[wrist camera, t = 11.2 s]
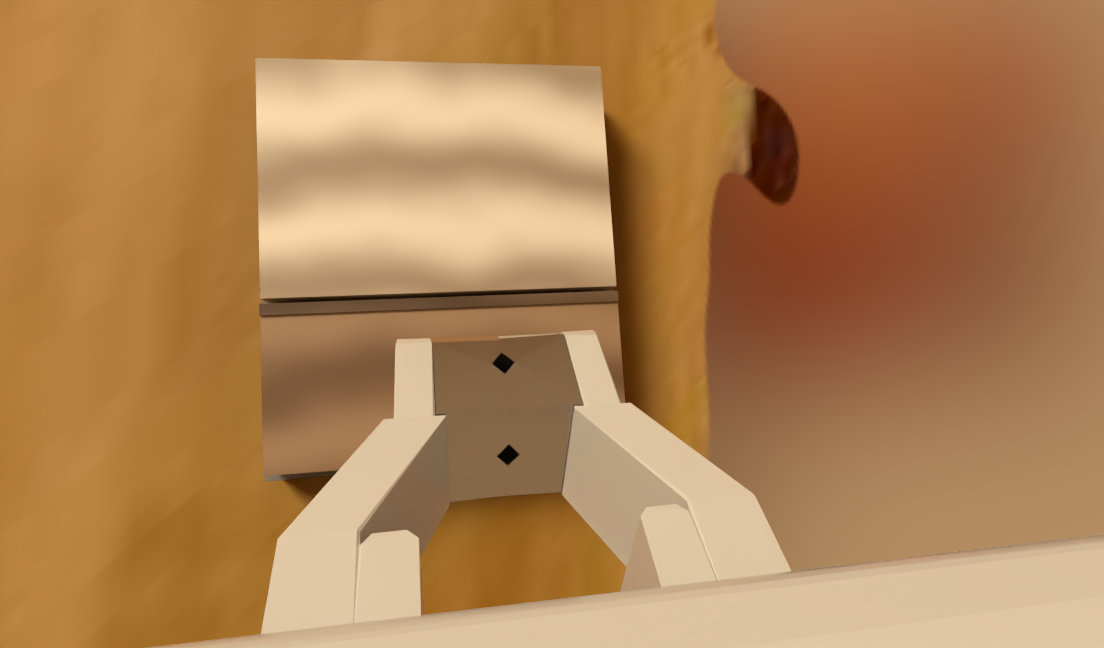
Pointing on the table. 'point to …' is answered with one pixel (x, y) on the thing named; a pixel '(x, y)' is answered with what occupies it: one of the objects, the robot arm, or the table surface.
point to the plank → (430, 180)
